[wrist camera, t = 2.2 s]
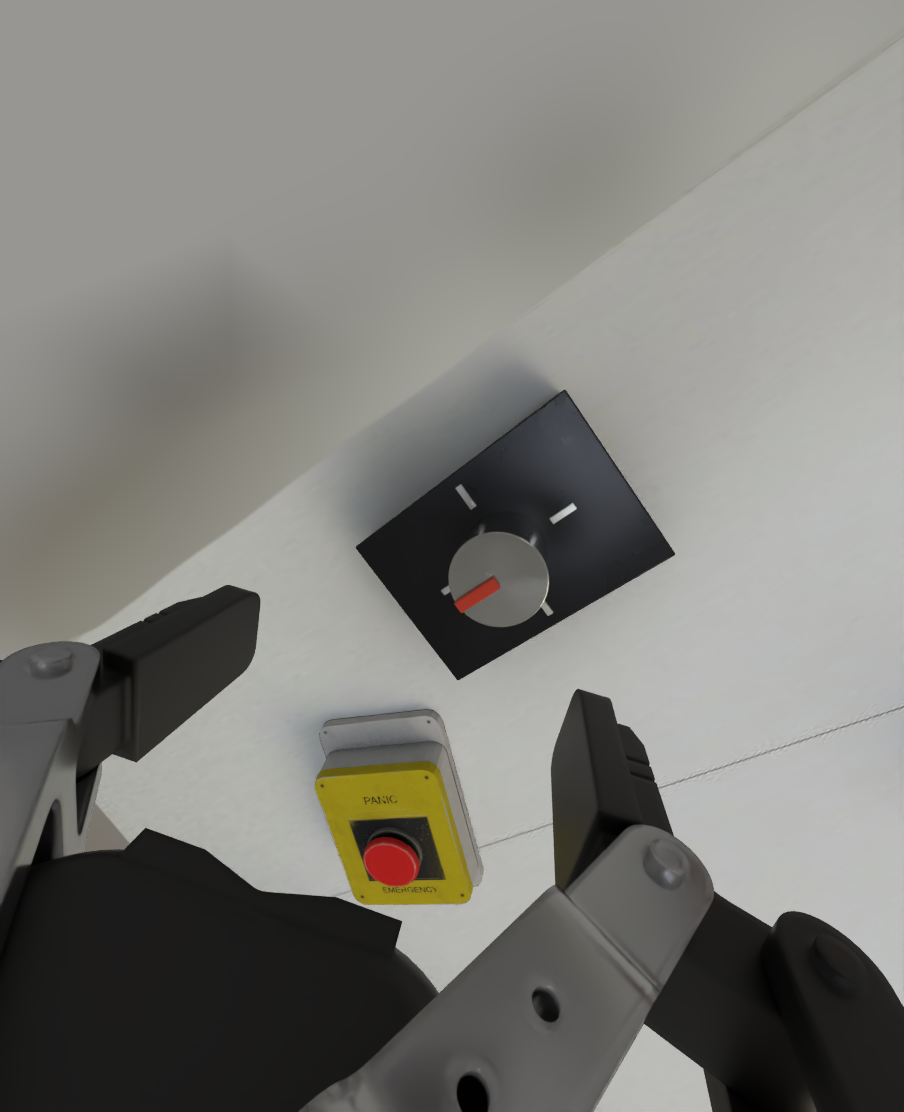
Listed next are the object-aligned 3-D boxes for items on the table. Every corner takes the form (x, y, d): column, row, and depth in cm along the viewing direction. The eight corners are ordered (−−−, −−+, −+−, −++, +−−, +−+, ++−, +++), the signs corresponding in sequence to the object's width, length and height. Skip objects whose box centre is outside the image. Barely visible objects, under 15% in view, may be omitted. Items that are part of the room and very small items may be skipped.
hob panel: (561, 393, 25) (565, 388, 22) (661, 540, 26) (677, 555, 23) (372, 535, 29) (353, 548, 26) (465, 657, 30) (457, 682, 27)
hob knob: (515, 494, 24) (509, 512, 19) (563, 561, 24) (570, 597, 19) (449, 540, 25) (426, 569, 20) (495, 604, 26) (485, 647, 21)
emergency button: (353, 938, 33) (288, 762, 30) (374, 881, 37) (319, 721, 34) (479, 940, 31) (424, 750, 28) (486, 879, 35) (439, 708, 32)
